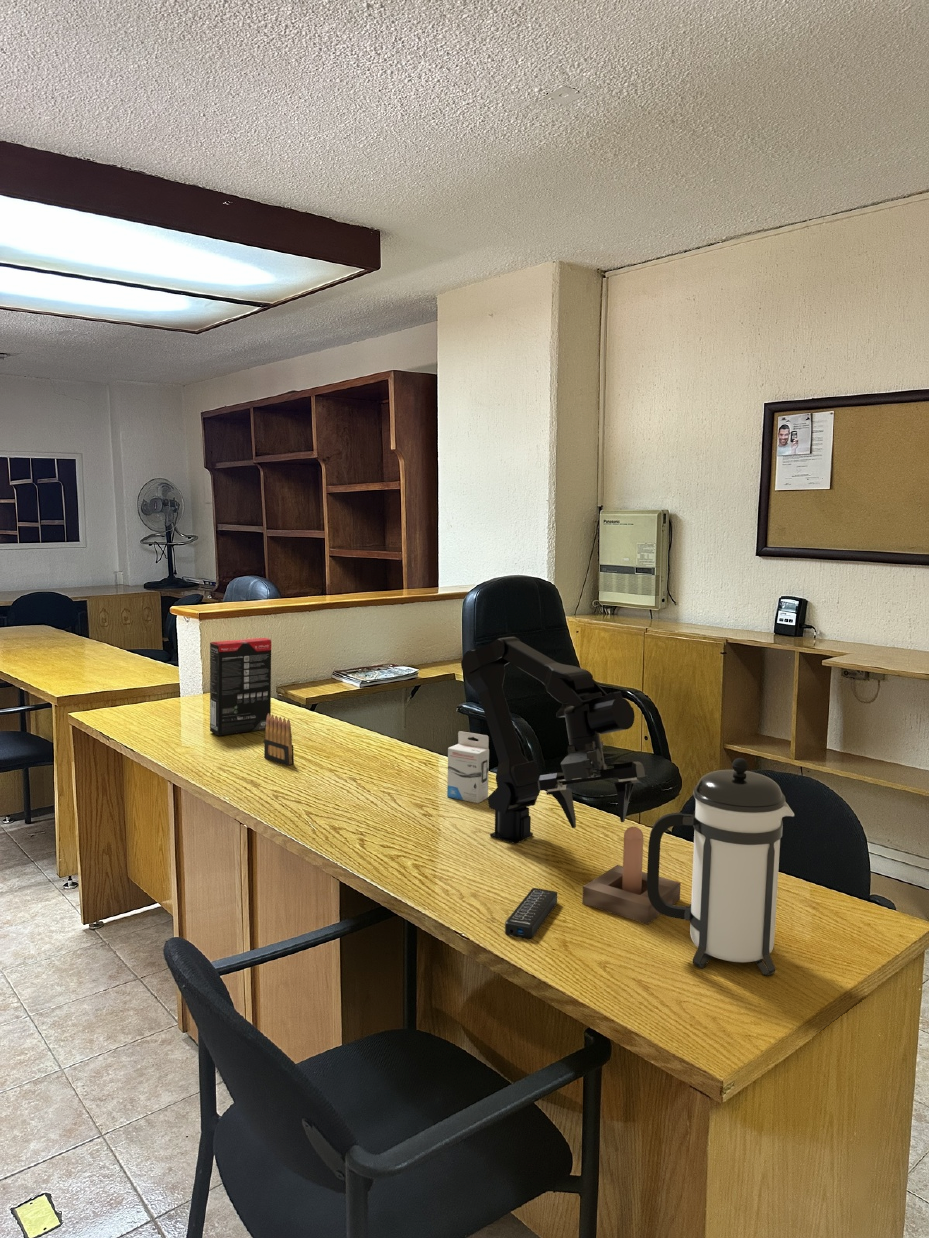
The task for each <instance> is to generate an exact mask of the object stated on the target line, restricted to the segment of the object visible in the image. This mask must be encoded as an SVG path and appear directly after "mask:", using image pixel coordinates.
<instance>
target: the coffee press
mask: <svg viewBox="0 0 929 1238" xmlns="http://www.w3.org/2000/svg"><path fill="white" fill-rule="evenodd" d="M731 766H732V769H718V770H714V771H710V772H708V773H705V774H704V775H702V776H701V778H699V780H698V782H697V784H696V785H695V786H694V787H693V793H692V795H693V797H694V799H695V810H694V811H693V814H688V813H683V812H670V813H667V814H665V815H662V816H661V817H659V818H658V819H657V820H656V821H655V823H654V824H653V825H652V828H651V831H650V833H649V839H648V849H647V851H648V852H647V871H646V873H647V892H648V897H649V900H650V902H651V904H652V906H653V907H654V908H655V909H656V910H657V911H658V912H659V913H661V915H663V916H665V917H668V918H672V919H677V920H684V921H688V922H689V923H690V927H689V932H690V939H691V940H692V942H693V944H694V946H696V947H697V949H696V951H695V953H694V956H693V958H692V964H693V965H694V966H696V967H698V968H700V969H705V968H706V966H707V964H708V963H709V961H710V960H712V959H713V958H716V959H720V960H723V961H727V962H734V963H751V962H752V963H753V962H754V964H756V966H757V967H758V969H759V971H760V972H761V974H762V975H763V976H765V977H769V976H770V975H774V974H775V973H776V967H775V964H774V962H773V960H772V958H771V953H772V952H773V949H774V946H775V933H776V922H777V921H776V920H777V919H776V918H777V917H776V916H777V905H778V904H777V903H778V902H777V901H778V900H777V898H778V886H779V885H778V884H779V883H778V882H779V866H780V864H779V863H780V852H781V851H780V848H781V838H782V837H783V827H784V826H783V825H784V822H783V818H784V817H792V818H793V817H795V812H794V811H793V810H792V808H791V807H790V806H789V804H788V803H787V802H786V796H785V795H784V793H783V792H782V790H781V787H780V786H779V784H778V782H776V781H774V780H773V779H772V778H770V777H768V776H766V775H763V774H762V773H757V772H754V771H749V770H748V768H749V766H750V765H749V764H748V762H747V760H746V759H745V758H742V757H737V758H734V760H733V762H732V763H731ZM676 826H678V827H679V826H680V827H682V826H693V829H694V834H693V835H694V836H693V853H692V854H693V855H692V856H693V857H692V880H691V882H692V883H691V901H690V905H688V906H683V905H675V904H673V905H670V904H668V903H666V902H665V901H664V900H663V899H662V898H661V896H660V894H659V877H660V859H661V857H660V856H661V841H662V837H663V835H664V834H665V832H667V830H668V829H669V828H673V827H676ZM762 959H763V960H762Z"/></svg>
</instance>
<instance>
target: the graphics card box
mask: <svg viewBox="0 0 929 1238" xmlns="http://www.w3.org/2000/svg"><path fill="white" fill-rule="evenodd" d="M209 661H210V662H209V677H210V678H209V685H210V686H209V687H210V688H209V732H211V733H213V734H215V735H217V736H227V735H235V734H241V733H247V732H248V733H249V732H255V731H257V732H258V731H263V730H266V720H267V715H268V713H269V715H270V718H271V716H272V713H271V711H272V709H271V707H272V705H271V704H272V639H270V638H267V637H266V638H265V637H260V638H247V639H233V640H222V641H210V642H209Z"/></svg>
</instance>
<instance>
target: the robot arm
mask: <svg viewBox="0 0 929 1238" xmlns="http://www.w3.org/2000/svg"><path fill="white" fill-rule="evenodd" d="M460 661H461V662H460V666H461V669H462V672H463V675H464V677H465V680H466V683H467V684H468V685H469V686H470V687H471V688H472V689H473V690H474V691H475V692H476V693H477V694H478V696H479V699H480V702H481V706H482V710H483V713H484V716H485V720H486V723H487V727H488V729H489V734H490V737H491V740H492V744H493V747H494V750H495V753H496V757H497V760H498V761H497V762H498V764H497V769H496V774H495V784H496V788H495V790H493V792H491V794H490V795H488V798H486V799H487V803H488V804H487V805H488V808H489V809H491V810H494V831H493V832H491V833H489V837H490V838H493V839H497V840H501V841H504V842H506V843H509V844H510V843H512V844H517V845H518V843H521V842H522V841H525V840H527V839H529V838H530V837H533V836H534V833H533V832H531V823H532V822H531V821H532V819H531V818H532V817H531V815H530V807H532V806H535V805H536V802H537V800H538V797H539V795H540V792H541V791H545V793H546V795H551V796H552V797H553V798H554V799H555V800H556V801H557V802H558V805H560V807H561V809H562V812H563V813H564V815H565V817H566V819H567V820H568V822H569V825H570V827H571V828H572V829H576V827H577V819H576V812H575V805H574V799H573V793H572V789H571V788H567V786H568V785H573V784H581V783H587V782H588V783H589V782H595V781H602V780H608V779H617V780H618V781H616V782H613V784H614V787H615V791H616V795H617V797H616V798H617V806H618V816H619V820H620V822H621V823H625V821H626V816H627V811H628V806H629V802H630V797H631V795H632V793H633V792H632V791H633V789H634V785H635V784H637V783H640V780H639V779H638V778H643V777H646V772H645V767H644V764H643V763H641V762H640V761H628V762H622V763H615V764H614V765H613V767H612V768H608V766H607V764H606V763H605V759H604V753H603V748H604V743H603V742H604V741H602V740H601V735H607V734H609V733H610V734H611V733H615V732H620V731H627V730H629V729H631V728H632V727H633V726H634V723H635V716H636V715H635V710H634V707H632V705H631V703H630V702H629V701H628V700H627V699H626V698H624V697H623V693H622V691H620V690H619V691H614V692H610V693H607V692H606V691H605V689H603V688H602V686H600V685H599V684H598V682H596V680H595V679H594V678H593V677H594V676H593V674H592V673H591V672H590V670H588V669H584V668H581V667H578V666H576V665H575V666H574V665H570V664H563V663H560V662H557V661H555V660H554V659H552V658H550V657H549V656H547V655H545V654H544V653H542V652H540V651H538V650H536V649H535V648H533V647H531V646H529V645H527V643H524V642H522V640H521V639H520V638H518V637H516V636H507V637H499V638H497V639H495V640H494V641H492V642H490V643H488V644H486V645H483V646H482V647H478V648H476V649H470V650H467V651H466V652H465V653H464V654H463V657H462V659H461V660H460ZM508 664H511V665H512V666H515V667H516V668H518V669H519V670H521V671H523V672H524V673H527V675H529V676H532V677H533V678H534V679H536V680H538V681H539V682H541V684H543V685H544V687H545V690H546V692H547V693H548V694H550V696H551V697H552V698H554V699H555V700H556V701H557V702H558V703H560V704H562V705H561V707H560V708H559V709H558V711H557V712H556V715H555V716H556V718H565V723H566V731H567V737H568V738H567V739H568V742H569V743H568V744H569V745H567V755H566V756H565V757H564V758H563V759H562V761H561V762H560V766H561V771H562V772H552V773H547V774H539V771H538V770H539V769H538V765H537V763H536V761H535V760H531V761H529V760H528V759H527V758H526V757H525V756H524V754H523V752H522V749H521V746H520V741H519V739H518V736H517V732H516V729H515V726H514V722H513V719H512V715H511V712H510V709H509V705H508V702H507V699H506V696H505V692H504V689H503V685H504V680H505V675H506V670H505V666H506V665H508ZM594 772H597V773H599V774H594Z"/></svg>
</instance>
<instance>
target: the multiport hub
mask: <svg viewBox="0 0 929 1238" xmlns="http://www.w3.org/2000/svg"><path fill="white" fill-rule="evenodd" d="M557 904H558V892H557V891H554V890H548V889H544V888H538V887H533V888H531V889H530V891H529V892H528V893H527V894H526V896H525V897H524V898H523V899H522V901H520V903H519V904H518V905H517V907H516V908H515V909H514V911H513V912H512V913H511V914H510V916H509V917H508V918H507V919H506V920H505V922H504V934H505V935H506V936H510V937H515V938H519V939H525V940H533V938H534V937H535V935H536V934H537V933H538V931H539V930H540V928H541V927H543V924H544V922H545V921H546V920H547V918H548V917H549V915H551V912H552V911H553V910H554V909H555V907H556V905H557Z"/></svg>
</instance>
